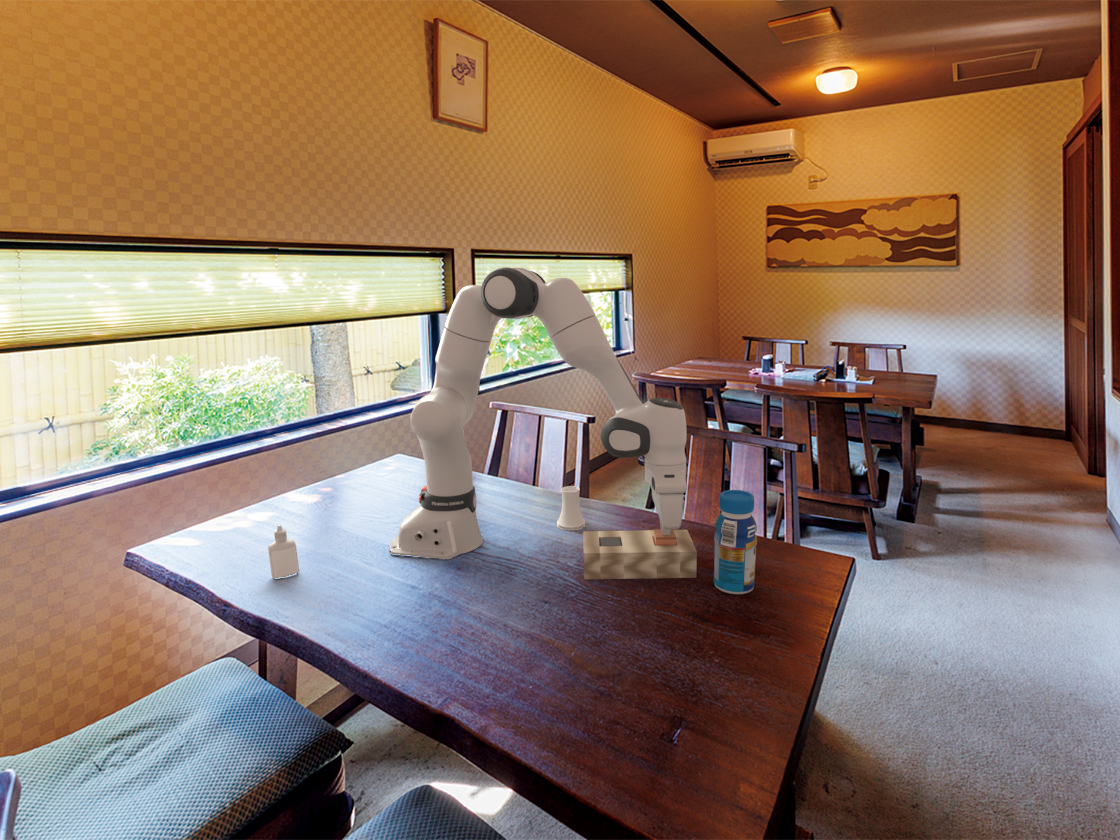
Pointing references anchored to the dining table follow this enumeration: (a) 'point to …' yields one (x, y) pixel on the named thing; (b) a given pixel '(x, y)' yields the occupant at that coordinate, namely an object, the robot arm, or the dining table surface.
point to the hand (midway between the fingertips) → (665, 532)
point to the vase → (570, 510)
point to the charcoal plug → (610, 541)
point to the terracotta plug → (664, 538)
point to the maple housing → (638, 556)
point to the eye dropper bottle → (283, 555)
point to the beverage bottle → (735, 543)
